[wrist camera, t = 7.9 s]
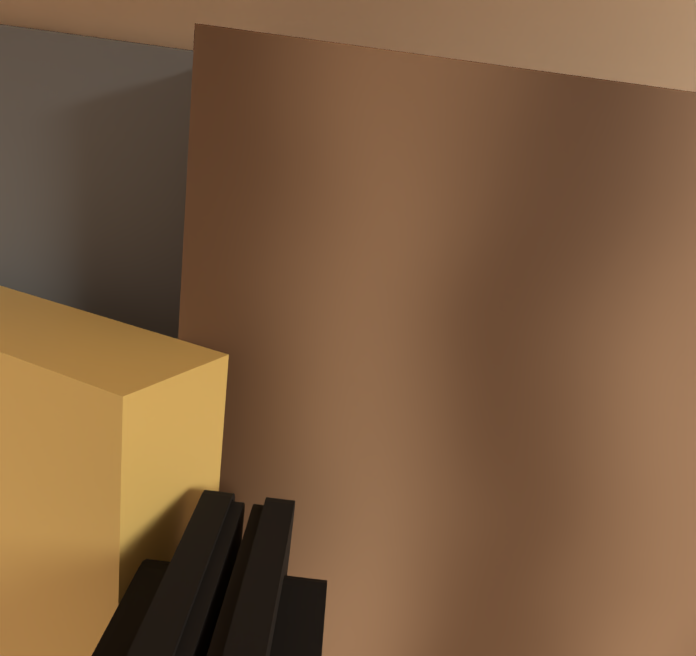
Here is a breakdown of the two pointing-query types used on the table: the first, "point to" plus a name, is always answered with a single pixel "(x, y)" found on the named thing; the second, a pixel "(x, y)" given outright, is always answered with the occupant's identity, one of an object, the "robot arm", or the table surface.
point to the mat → (94, 173)
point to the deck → (453, 340)
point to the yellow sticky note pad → (94, 464)
